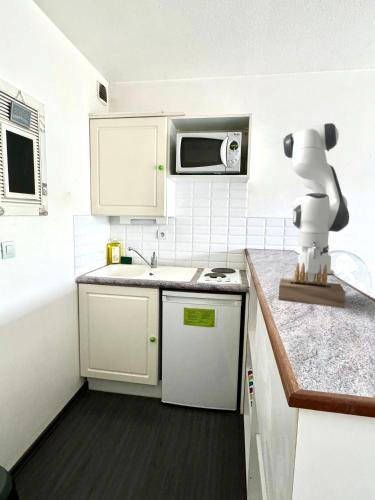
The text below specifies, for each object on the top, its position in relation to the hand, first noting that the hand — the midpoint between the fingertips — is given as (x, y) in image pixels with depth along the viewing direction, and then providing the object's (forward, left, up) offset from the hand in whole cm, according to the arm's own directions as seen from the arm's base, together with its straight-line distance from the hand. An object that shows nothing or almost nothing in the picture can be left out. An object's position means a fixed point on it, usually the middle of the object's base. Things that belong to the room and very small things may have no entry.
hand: (310, 280), depth 97 cm
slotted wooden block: (0, 0, -7) cm, 7 cm away
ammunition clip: (0, 0, -6) cm, 6 cm away
